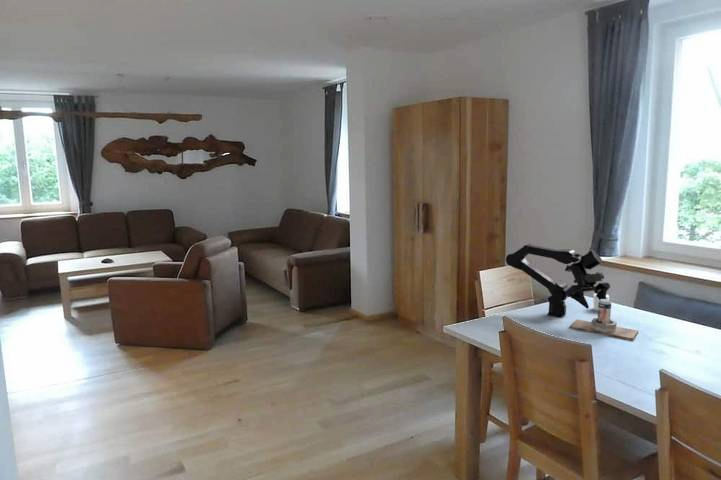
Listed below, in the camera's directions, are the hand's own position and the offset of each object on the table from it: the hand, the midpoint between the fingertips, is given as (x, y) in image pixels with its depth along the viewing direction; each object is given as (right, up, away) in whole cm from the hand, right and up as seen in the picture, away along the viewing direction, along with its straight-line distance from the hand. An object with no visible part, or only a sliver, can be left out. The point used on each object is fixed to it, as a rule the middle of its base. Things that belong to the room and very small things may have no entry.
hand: (597, 307), depth 214 cm
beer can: (+1, -9, -2) cm, 9 cm away
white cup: (+13, -5, +26) cm, 30 cm away
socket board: (+1, -9, -2) cm, 10 cm away
